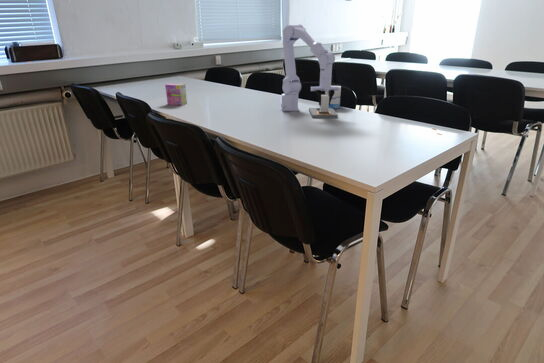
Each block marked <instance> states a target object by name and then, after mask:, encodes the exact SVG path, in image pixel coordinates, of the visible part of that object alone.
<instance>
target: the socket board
mask: <svg viewBox="0 0 544 363" xmlns="http://www.w3.org/2000/svg"><path fill="white" fill-rule="evenodd" d="M308 112H309V114H310V116H311V119H338V117H339V116H338V113H337V112H336V111H335V108H329V110H328V112H320V107H309V108H308Z"/></svg>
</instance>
